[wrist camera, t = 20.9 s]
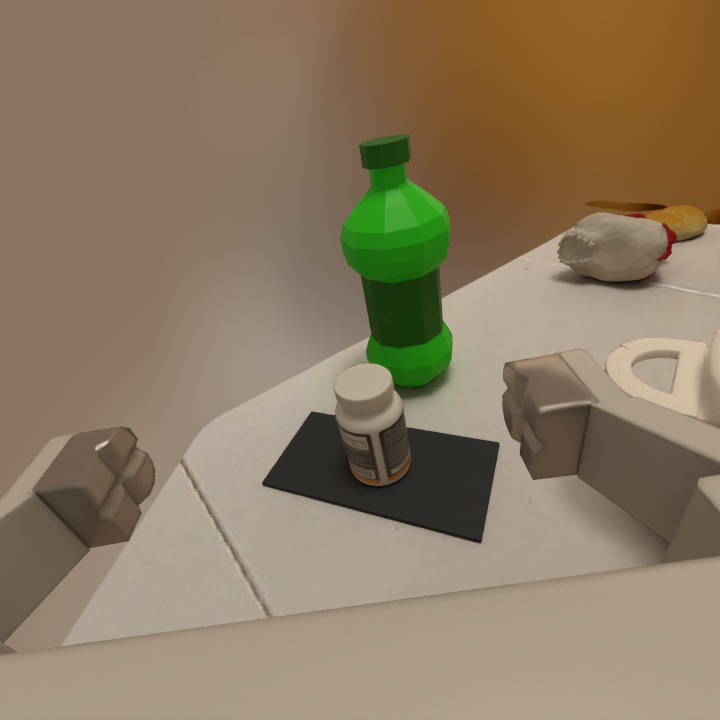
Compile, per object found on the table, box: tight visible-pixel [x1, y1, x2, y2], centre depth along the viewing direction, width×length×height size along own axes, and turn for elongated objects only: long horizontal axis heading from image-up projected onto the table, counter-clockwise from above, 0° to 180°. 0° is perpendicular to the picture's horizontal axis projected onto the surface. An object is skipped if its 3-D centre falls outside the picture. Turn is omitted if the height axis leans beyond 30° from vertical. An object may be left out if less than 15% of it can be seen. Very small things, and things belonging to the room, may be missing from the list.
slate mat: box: [262, 412, 499, 543], centre depth 38 cm, size 20×10×1 cm, turn 67°
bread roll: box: [645, 205, 707, 241], centre depth 67 cm, size 8×9×4 cm
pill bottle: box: [334, 363, 411, 486], centre depth 35 cm, size 6×6×10 cm
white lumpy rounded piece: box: [557, 213, 677, 282], centre depth 57 cm, size 9×11×15 cm
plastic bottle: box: [341, 135, 453, 388], centre depth 42 cm, size 10×10×25 cm
